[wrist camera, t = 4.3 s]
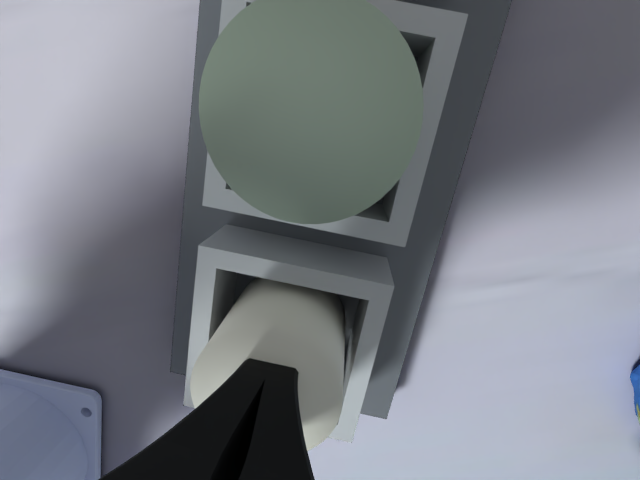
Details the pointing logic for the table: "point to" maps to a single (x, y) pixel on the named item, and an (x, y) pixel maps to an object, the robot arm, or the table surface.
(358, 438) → the table surface
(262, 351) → the cream button
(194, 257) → the button panel
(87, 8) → the table surface
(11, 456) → the robot arm
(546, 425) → the table surface
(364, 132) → the sage button
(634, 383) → the snack cup
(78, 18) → the table surface
